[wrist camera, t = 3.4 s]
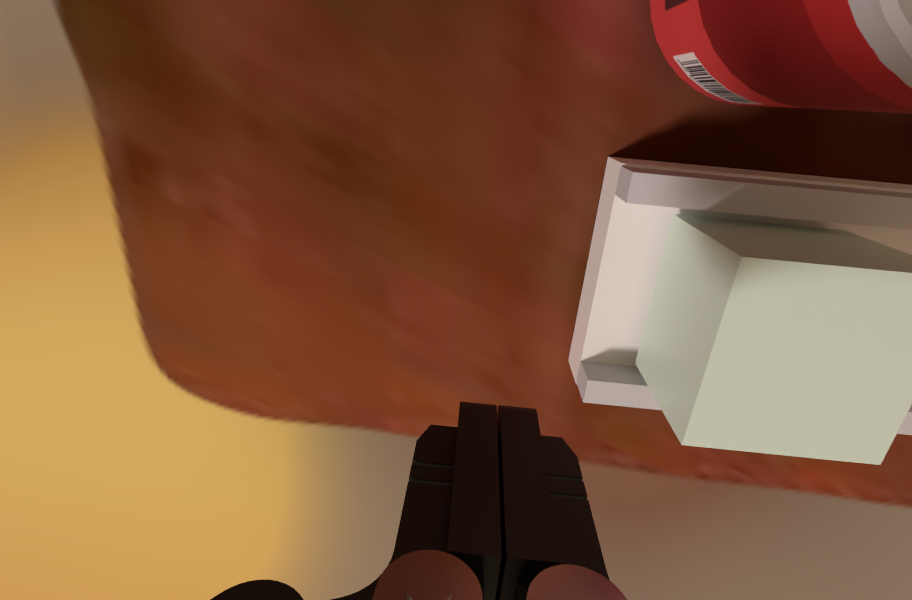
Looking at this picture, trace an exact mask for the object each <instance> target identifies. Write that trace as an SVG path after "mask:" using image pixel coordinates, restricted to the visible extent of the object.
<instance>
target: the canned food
mask: <svg viewBox="0 0 912 600" xmlns="http://www.w3.org/2000/svg"><path fill="white" fill-rule="evenodd" d="M650 16H651V22H652V26H653V30H654V34H655V38H656V41H657V43H658V45H659V47H660V49H661V51H662V53H663V55H664V57H665V59H666V61H667V62H668V63H669V65H670V66H671V67H672V68H673V70H674V71H675V72H676V73H677V75H678V76H679V77H680V78H681V79H682V80H683V81H685V82H686V83H687V84H688V85H690V86H691V87H692V88H693V89H695V90H696V91H698V92H700V93H702V94H704V95H706V96H708V97H710V98H712V99H714V100H717V101H722V102H726V103H730V104H735V105H745V106H765V107H785V108H805V109H825V110H845V111H865V112H884V113H904V114H912V0H650Z"/></svg>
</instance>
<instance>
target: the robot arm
mask: <svg viewBox="0 0 912 600" xmlns="http://www.w3.org/2000/svg"><path fill="white" fill-rule="evenodd" d="M211 600H303V598H302V597H301V596H300V594H299V593H298V592H297V591H295V589H293V588H292V587H290V586H288V585H287V584H284V583H281V582H278V581H273V580H255V581H249V582H245V583H241V584H238V585H236V586H234V587H231V588H229V589H227V590H225V591H223V592H222V593H220V594H219V595H217V596H215V597H214V598H212V599H211ZM332 600H627V599H626V597H625V596H624V595H623V593H622V592H621V591H620V590H619V589H618V588H617V587H616V586H615V585H614V584H613V583H612V582H611V581H610V580H609V577H608V574H607V571H606V567H605V563H604V560H603V556H602V552H601V548H600V544H599V540H598V536H597V532H596V528H595V524H594V521H593V517H592V513H591V509H590V505H589V501H588V500H587V493H586V489H585V486H584V483H583V482H582V474H581V470H580V466H579V462H578V458H577V456H576V455H575V453H574V452H573V451H572V450H571V449H570V447H569V446H568V445H567V444H566V442H565V441H564V440H563V439H562V438H560V437H550V436H541V435H540V429H539V422H538V416H537V411H536V409H531V408H521V407H511V406H501V405H499V407H498V411H497V407H496V405H490V404H479V403H469V402H460V409H459V419H458V427H449V426H439V425H430V426H429V427H428V429H427V430H426V431H425V432H424V433H423V434H422V435H421V436H420V438H419V439H418V440H417V442H416V447H415V452H414V457H413V462H412V466H411V471H410V476H409V482H408V486H407V491H406V496H405V501H404V505H403V510H402V516H401V520H400V525H399V529H398V534H397V539H396V544H395V549H394V552H393V556H392V559H391V561H390V563H389V565H388V566H387V568H386V569H385V570H384V572H383V573H382V574H381V575H380V576H379V577H378V578H377V579H376V580H375V581H374V582H373V583H371V584H370V585H369V586H367V587H365V588H364V589H362V590H360V591H358V592H356V593H353V594H351V595H348V596H344V597H341V598H337V599H332Z"/></svg>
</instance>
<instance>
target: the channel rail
mask: <svg viewBox="0 0 912 600" xmlns="http://www.w3.org/2000/svg"><path fill="white" fill-rule="evenodd" d="M673 214H678V215H688V216H699V217H710V218H720V219H731V220H741V221H752V222H763V223H773V224H784V225H794V226H805V227H815V228H826V229H837V230H846V231H848V232H851V233H854V234H856V235H859V236H862V237H865V238H867V239H870V240H873V241H875V242H878V243H881V244H883V245H886V246H889V247H891V248H894V249H897V250H899V251H902V252H905V253H907V254H910V255H912V185H908V184H898V183H887V182H876V181H865V180H855V179H844V178H833V177H822V176H812V175H801V174H790V173H779V172H769V171H758V170H747V169H737V168H726V167H715V166H704V165H694V164H683V163H672V162H661V161H651V160H640V159H629V158H618V157H608V160H607V165H606V170H605V175H604V180H603V186H602V191H601V196H600V201H599V206H598V211H597V216H596V221H595V226H594V232H593V237H592V242H591V247H590V252H589V257H588V262H587V267H586V273H585V278H584V283H583V288H582V293H581V298H580V303H579V308H578V313H577V319H576V324H575V329H574V334H573V339H572V344H571V349H570V354H569V360H568V361H569V364H570V367H571V370H572V373H573V376H574V379H575V382H576V384H577V385H578V388H579V391H580V394H581V397H582V400H583V402H586V403H596V404H606V405H616V406H626V407H636V408H646V409H656V410H662V409H661V408H660V406H659V404H658V402H657V401H656V399H655V397H654V395H653V394H652V392H651V390H650V388H649V387H648V385H647V383H646V381H645V380H644V378H643V376H642V374H641V373H640V371H639V369H638V367H637V366H636V364H635V362H636V358H637V354H638V350H639V346H640V342H641V338H642V334H643V330H644V327H645V323H646V319H647V315H648V311H649V307H650V303H651V299H652V295H653V291H654V287H655V283H656V279H657V276H658V272H659V268H660V264H661V260H662V256H663V252H664V248H665V244H666V240H667V236H668V232H669V228H670V224H671V221H672V217H673ZM897 434H907V435H912V405H911V407H910V409H909V410H908V412H907V414H906V416H905V418H904V420H903V422H902V424H901V426H900V428H899V430H898V432H897Z"/></svg>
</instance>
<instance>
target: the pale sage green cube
mask: <svg viewBox="0 0 912 600" xmlns="http://www.w3.org/2000/svg"><path fill="white" fill-rule="evenodd" d="M635 364H636V366H637V367H638V369H639V371H640V373H641V374H642V376H643V378H644V380H645V381H646V383H647V385H648V387H649V388H650V390H651V392H652V394H653V395H654V397H655V399H656V401H657V402H658V404H659V406H660V408H661V409H662V411H663V413H664V415H665V417H666V418H667V420H668V422H669V424H670V425H671V427H672V429H673V431H674V432H675V434H676V436H677V438H678V439H679V441H680V443H681V445H687V446H697V447H707V448H717V449H727V450H737V451H747V452H757V453H767V454H777V455H787V456H797V457H807V458H816V459H826V460H836V461H846V462H856V463H866V464H876V465H881V463H882V461H883V459H884V457H885V455H886V453H887V451H888V449H889V447H890V445H891V443H892V441H893V439H894V438H895V436H896V434H897V432H898V430H899V428H900V426H901V424H902V422H903V420H904V418H905V416H906V414H907V412H908V410H909V409H910V407H911V405H912V255H910V254H907V253H905V252H902V251H899V250H897V249H894V248H891V247H889V246H886V245H883V244H881V243H878V242H875V241H873V240H870V239H867V238H865V237H862V236H859V235H856V234H854V233H851V232H848V231H846V230H837V229H826V228H815V227H805V226H794V225H784V224H773V223H763V222H752V221H741V220H731V219H720V218H710V217H699V216H688V215H678V214H673V217H672V221H671V224H670V228H669V232H668V236H667V240H666V244H665V248H664V252H663V256H662V260H661V264H660V268H659V272H658V276H657V279H656V283H655V287H654V291H653V295H652V299H651V303H650V307H649V311H648V315H647V319H646V323H645V327H644V330H643V334H642V338H641V342H640V346H639V350H638V354H637V358H636V362H635Z"/></svg>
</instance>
